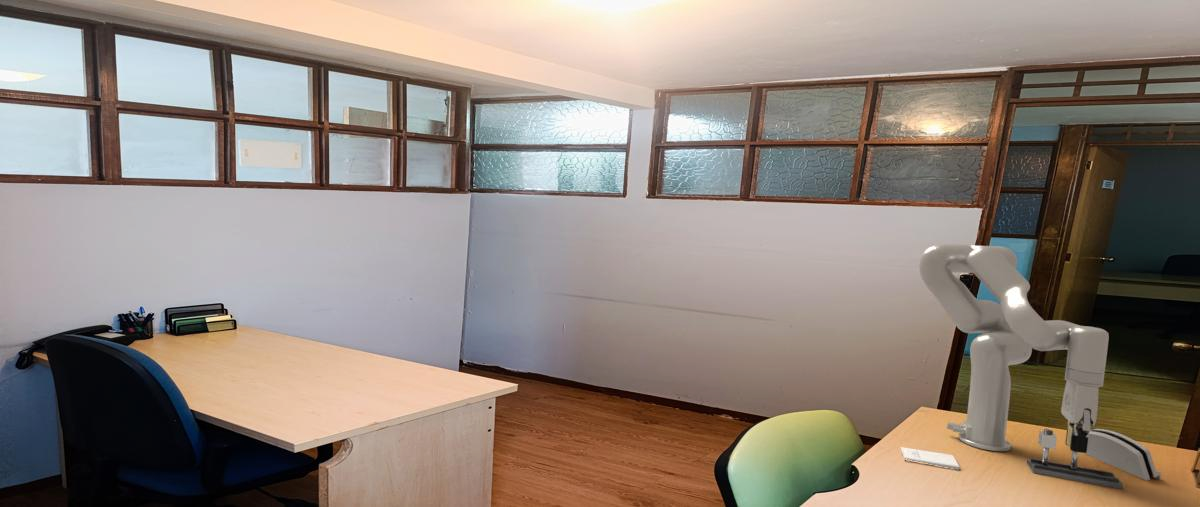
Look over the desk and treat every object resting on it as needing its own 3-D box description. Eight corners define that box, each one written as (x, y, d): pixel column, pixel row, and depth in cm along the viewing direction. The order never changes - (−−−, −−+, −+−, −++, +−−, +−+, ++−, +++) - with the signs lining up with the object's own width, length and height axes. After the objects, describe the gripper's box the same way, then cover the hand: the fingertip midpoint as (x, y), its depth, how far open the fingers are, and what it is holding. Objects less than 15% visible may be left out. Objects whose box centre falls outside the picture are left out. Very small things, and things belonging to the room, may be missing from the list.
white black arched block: (1163, 480, 155) (1156, 443, 153) (1147, 486, 154) (1140, 450, 153) (1099, 453, 171) (1092, 420, 170) (1085, 459, 171) (1078, 426, 169)
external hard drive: (958, 472, 154) (903, 463, 158) (951, 460, 162) (899, 451, 166) (959, 466, 154) (904, 456, 158) (952, 454, 162) (900, 445, 166)
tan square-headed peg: (1067, 469, 154) (1072, 427, 153) (1063, 465, 157) (1068, 424, 156) (1083, 472, 152) (1088, 430, 152) (1079, 467, 155) (1084, 426, 155)
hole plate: (1033, 472, 155) (1037, 432, 154) (1026, 462, 161) (1030, 423, 161) (1122, 489, 148) (1128, 447, 147) (1112, 478, 154) (1117, 437, 154)
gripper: (1056, 367, 162) (1048, 435, 163) (1075, 382, 147) (1067, 457, 148) (1091, 371, 159) (1083, 441, 160) (1115, 387, 144) (1105, 464, 145)
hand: (1075, 448), depth 154 cm, fingers closed on tan square-headed peg, 3 cm apart
